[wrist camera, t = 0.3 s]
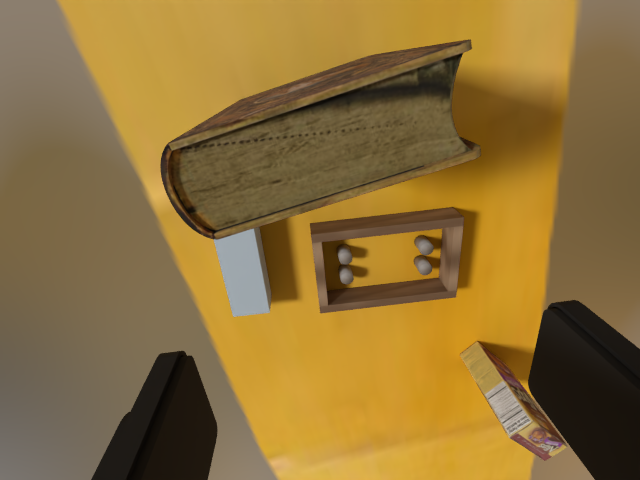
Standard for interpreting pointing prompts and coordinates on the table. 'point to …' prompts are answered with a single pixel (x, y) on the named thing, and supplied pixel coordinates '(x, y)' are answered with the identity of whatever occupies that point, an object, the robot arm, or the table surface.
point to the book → (318, 141)
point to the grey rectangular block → (245, 272)
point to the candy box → (512, 403)
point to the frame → (418, 288)
